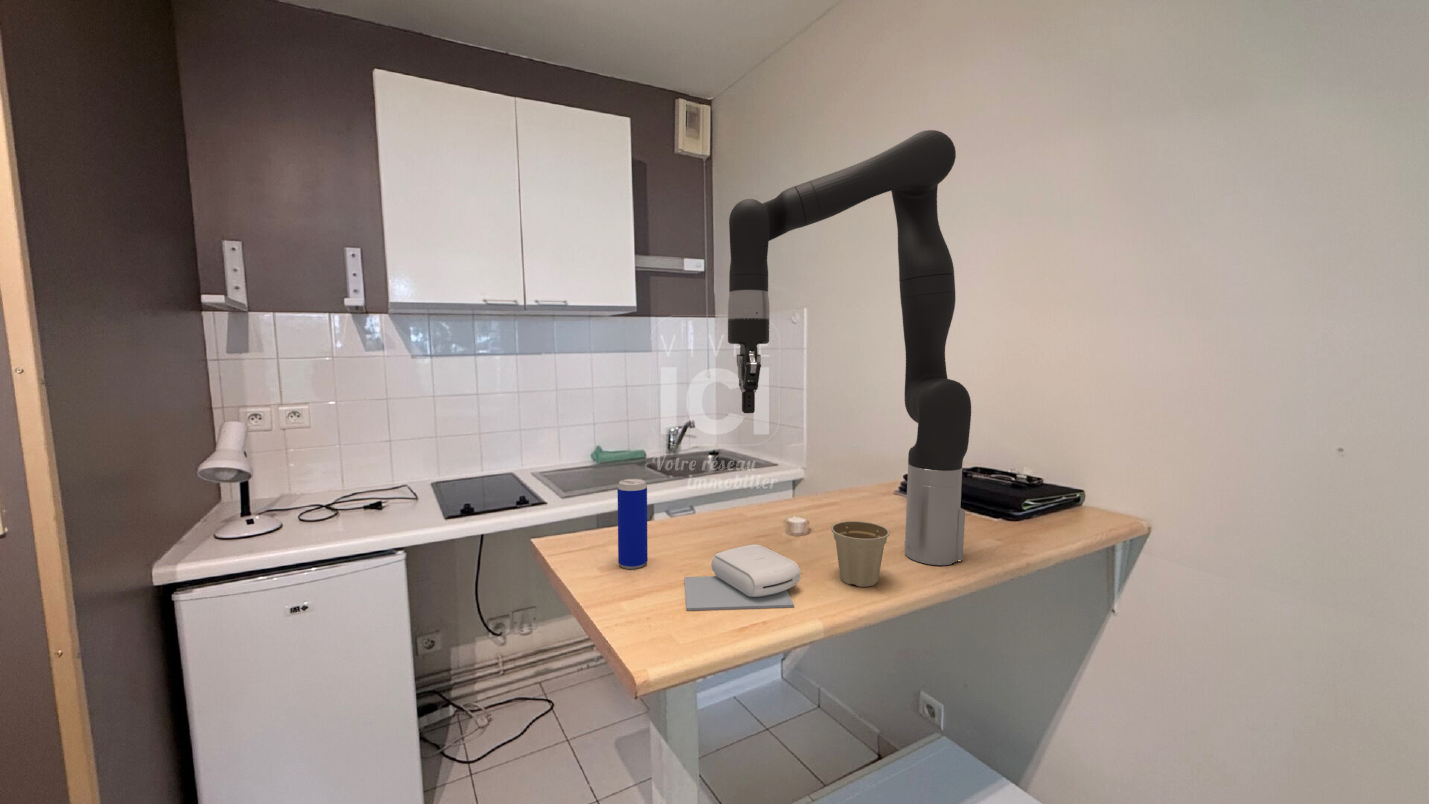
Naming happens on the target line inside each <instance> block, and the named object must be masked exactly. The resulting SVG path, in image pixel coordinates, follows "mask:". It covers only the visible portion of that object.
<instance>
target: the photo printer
mask: <svg viewBox="0 0 1429 804" xmlns="http://www.w3.org/2000/svg"><path fill="white" fill-rule="evenodd" d="M711 569H712V571H713V573H714V576H717V577H719V578H720V579H722V580H724V581H725V582H727V583H728V584H730V585H732V586H733V587H735V588H736V589H738V590H740V591H741V592H743V593H745V594H746V595H748V596H751V597H760V596H767V595H771V594H775V593H779V592H782V591H784V590H787V591H788V590H789V589H791V588H793V587H794V586H796V585H797V584H798V583H799V582H800V581H801V579H802V577H801V572H802V571H801V569H800V566H799V565H798V564H797V563H796V561H794V560H792V559H790V558H788V557H786V556H784V555H782V554H781V553H780V554H779V553H777V552H776V551H774V550H771V549H770V548H767V547H765V546H763V545H760V544H747V545H743V546H738V547H734V548H730V549H727V550H726V549H725V550H722V551H720V552H718V553H715V554H714V556H713V558H712V559H711Z"/></svg>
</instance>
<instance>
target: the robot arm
mask: <svg viewBox="0 0 1429 804" xmlns="http://www.w3.org/2000/svg"><path fill="white" fill-rule="evenodd" d="M956 157H957V153H956V147H955V144H954V142H953V140H952V139H951V137H949V136H948V135H947V134H945V132H942V131H939V130H936V129H928V130H923V131H919V132H918V133H915V134H913V135H912V136H910V137H908V138H907V139H905V140H903V141H901V142H900V143H897V144H895V145H894V146H892V147H890V148H888V149H886V150H884V151H883V152H880V153H879V154H876V155H874V156H872V157H870V158H868V159H865V160H863V161H861V162H858V163H855V164H853V165H850V166H849V167H846V168H842V169H839V170H836V171H834V172H832V173H829V174H826V175H822V176H821V177H817V178H815V179H811V180H808V181H806V182H802V183H800V184H797V185H795V186H791V187H789V188H786V189H785V190H782V191H781V192H780V193H779V194H778V195H777V196H776V197H775V198H772V199H770V200H768V201H764V202H763V203H762V202H761V201H759V200H758V199H757V200H756V199H754V198H745V199H742V200H741V201H739V202H738V203H736V204H735V206H734V207H733V208H732V210H731V211H730V215H729V219H728V225H729V231H728V232H729V250H730V264H729V271H728V272H729V278H728V282H729V283H728V285H729V287H728V289H729V291H728V301H727V342H728V344H729V345H739V346H740V347H739V353H737V354H736V366H737V378H738V387H739V390H740V392H741V411H742V412H743V414H754V413H755V410H756V406H755V405H756V404H755V403H756V397H755V396H756V392H757V391H758V388H759V381H760V375H761V368H762V364H761V360H762V357H761V354H759V353H758V351H759V350H758V345H767V344H769V343H770V297H769V266H768V255H769V254H768V253H769V241H772V240H774V239H777V238H778V237H781V236H783V235H785V234H787V233H789V232H791V231H795V230H797V229H800V228H801V229H802V228H804V227H806V226H807V227H808V226H810V225H813V224H815V223H819V222H822V221H823V220H827V219H829V218H831V217H834V216H836V215H838V214H841V213H842V212H845V211H847V210H850V208H852V207H855V206H857V205H859V204H860V203H864V202H865V201H868V200H870V199H871V198H875V197H878V196H879V195H883V194H886V193H888V192H889V193H890V192H891V197H892V203H893V206H894V214H895V219H896V228H897V255H898V256H897V258H898V281H899V294H900V297H899V298H900V306H901V314H902V315H901V316H902V318H901V319H902V329H903V330H902V331H903V339H904V351H905V374H904V378H905V379H904V406H905V410H906V413H907V414H908V416H909V417H910V419H912V420H913V422H915V423H917V432H916V433H917V435H916V441H915V444H914V445H913V446H912V447H910V448H909V451H908V454H907V455H908V456H907V457H908V458H907V484H906V485H907V486H906V507H905V511H906V513H905V531H904V532H905V535H904V555H905V556H906V557H907V558H909V559H911V560H913V561H915V562H918V563H922V564H924V565H925V564H927V565H933V566H948V565H953V564H952V563H954V562H956V561H958V560H962V559H963V560H964V543H965V542H964V541H965V524H966V523H965V522H966V521H965V520H966V510H965V509H963V508H962V507H961V502H962V501H961V500H962V481H963V464H964V463H963V462H964V457H965V456H966V454H967V451H968V448H969V442H970V433H971V432H970V431H971V421H972V400H971V396H970V393H969V391H968V390H967V388H966V387H965V386H964V385H963V384H962V383H960V382H958V381H956V380H954V379H951V378H948V373H947V362H946V344H947V340H948V339H947V338H948V335H949V332H950V328H951V324H952V321H953V317H954V313H955V307H956V284H955V282H956V281H955V280H956V279H955V267H954V263H953V258H952V255H951V253H950V250H949V247H948V245H947V243H946V240H945V238H944V235H943V233H942V231H941V227H940V222H939V216H938V215H939V214H938V185H939V184H940V183H942V182H943V181H944V180H945V179H946V178H947V177H948V175H949V173H950V172H951V171H952V169H953V167H954V165H955V162H956ZM958 562H959V561H958ZM956 563H957V562H956ZM954 564H955V563H954Z"/></svg>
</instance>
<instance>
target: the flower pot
mask: <svg viewBox="0 0 1429 804" xmlns="http://www.w3.org/2000/svg"><path fill="white" fill-rule="evenodd" d="M830 530H831V532H832V533H833V534H832V535H833V538H834V539H833V540H834V541H835V545H836V553H837V555H836V556H837V562H838V563H837V564H838V570H839V572H838V573H839V578H840V581H842V582H843V583H845V584H846V585H854V586H855V585H856V586H857V587H860V588H861V587H863V588H864V587H865V588H866V587H867V588H868V587H873V586H876V585H877V583H878V582H879V578H880V571H881V566H882V560H883V555H884V549H885V548H884V547H885V545H886V543H887V540H888V537H890V535H891V533H890V532H891V531H890V530H889V529H888V528H887V527H885V526H883V525H880V524H878V523H873V522H870V521H869V522H868V521H863V520H862V521H860V520H843V521H840V522H835V523H833V524H832V525H831V527H830Z"/></svg>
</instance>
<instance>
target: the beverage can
mask: <svg viewBox="0 0 1429 804" xmlns="http://www.w3.org/2000/svg"><path fill="white" fill-rule="evenodd" d="M616 488H617V489H616V490H617V555H618V556H617V560H618V561H617V563H618V564H619V565H620V567H621V568H623V569H627V570H637V569H641V568H643V567H644V566H646V564H647V563H648V559H649V558H648V485H647V482H646V480H644V479H642V478H625V479H621V480H620V481H619V482H618V485H617V487H616Z"/></svg>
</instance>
